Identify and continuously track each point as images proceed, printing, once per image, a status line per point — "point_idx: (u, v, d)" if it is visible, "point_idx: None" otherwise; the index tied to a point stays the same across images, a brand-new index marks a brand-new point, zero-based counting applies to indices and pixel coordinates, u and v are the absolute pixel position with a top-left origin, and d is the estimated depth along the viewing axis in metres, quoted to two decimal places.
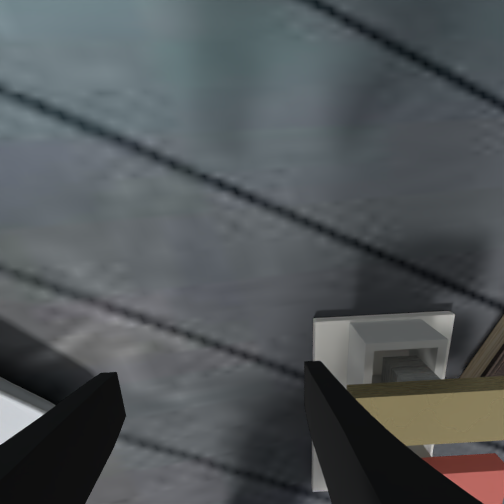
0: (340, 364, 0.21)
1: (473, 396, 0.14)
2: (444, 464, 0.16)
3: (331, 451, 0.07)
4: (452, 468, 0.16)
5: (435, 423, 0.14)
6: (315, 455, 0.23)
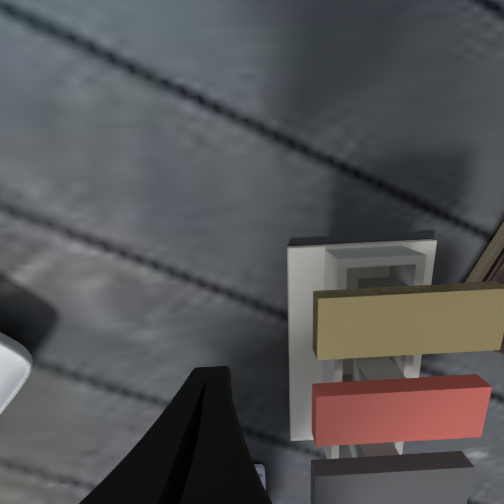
0: None
1: (449, 297, 0.13)
2: (421, 383, 0.15)
3: None
4: (429, 386, 0.15)
5: (409, 330, 0.13)
6: (292, 400, 0.22)
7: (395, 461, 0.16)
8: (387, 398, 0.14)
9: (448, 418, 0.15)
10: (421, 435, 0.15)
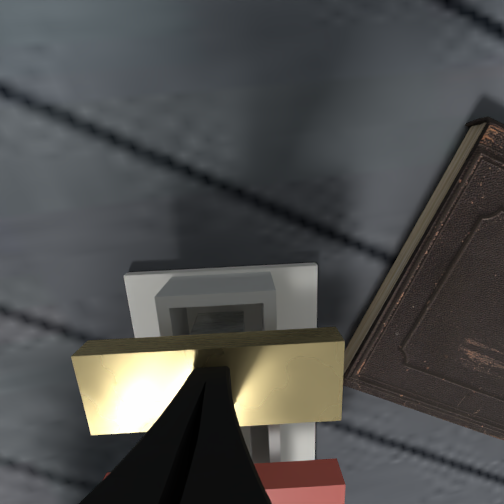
0: None
1: (256, 353, 0.09)
2: None
3: None
4: None
5: None
6: None
7: None
8: None
9: None
10: None
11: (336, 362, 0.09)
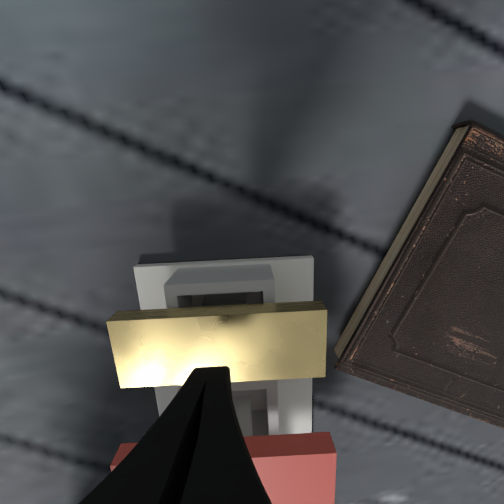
0: None
1: (255, 320, 0.11)
2: (252, 446, 0.12)
3: None
4: (259, 451, 0.11)
5: (217, 356, 0.12)
6: None
7: None
8: None
9: (287, 490, 0.12)
10: None
11: (321, 327, 0.12)
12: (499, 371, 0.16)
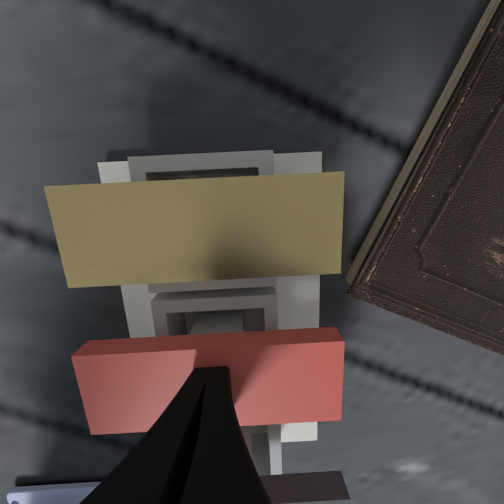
0: None
1: (247, 186, 0.08)
2: (244, 338, 0.10)
3: None
4: (252, 342, 0.09)
5: (196, 240, 0.09)
6: None
7: None
8: (183, 358, 0.09)
9: (285, 391, 0.10)
10: (250, 419, 0.10)
11: (336, 198, 0.09)
12: None
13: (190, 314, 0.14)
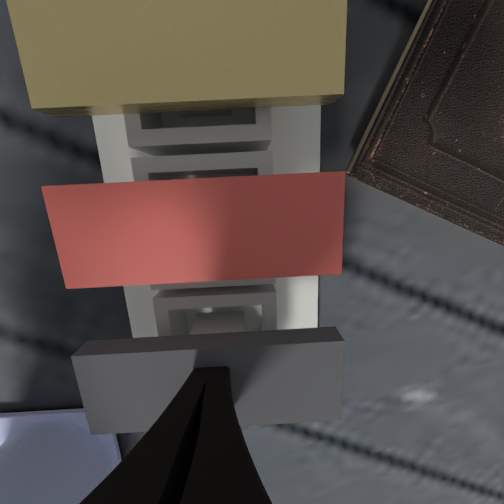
0: None
1: None
2: None
3: None
4: None
5: (178, 47, 0.08)
6: (129, 301, 0.14)
7: (220, 338, 0.10)
8: (166, 191, 0.08)
9: (280, 235, 0.09)
10: (241, 270, 0.09)
11: None
12: None
13: None
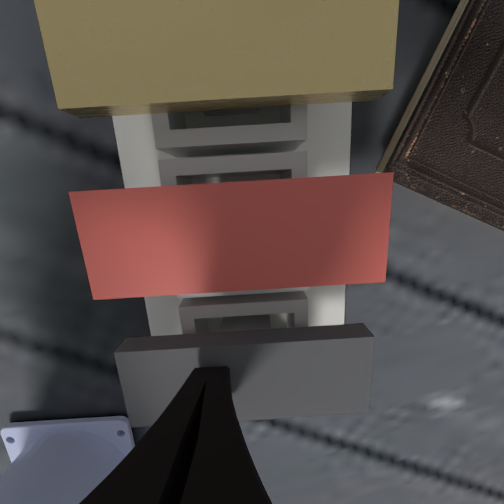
0: None
1: None
2: None
3: None
4: None
5: (216, 40, 0.07)
6: (149, 308, 0.14)
7: (253, 335, 0.10)
8: (202, 196, 0.08)
9: (321, 241, 0.08)
10: (279, 279, 0.09)
11: None
12: None
13: None
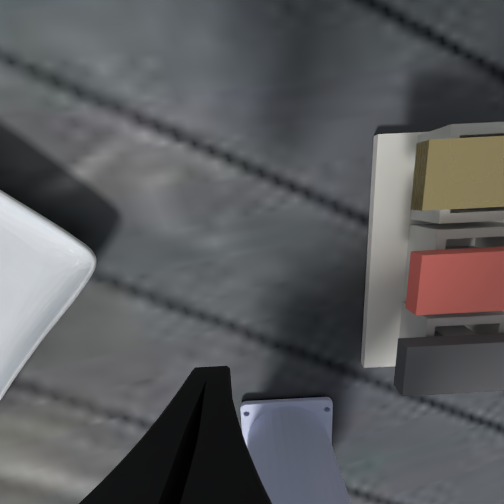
0: (404, 194, 0.18)
1: None
2: None
3: None
4: None
5: None
6: (369, 318, 0.20)
7: (484, 337, 0.16)
8: (494, 257, 0.14)
9: None
10: None
11: None
12: None
13: None
